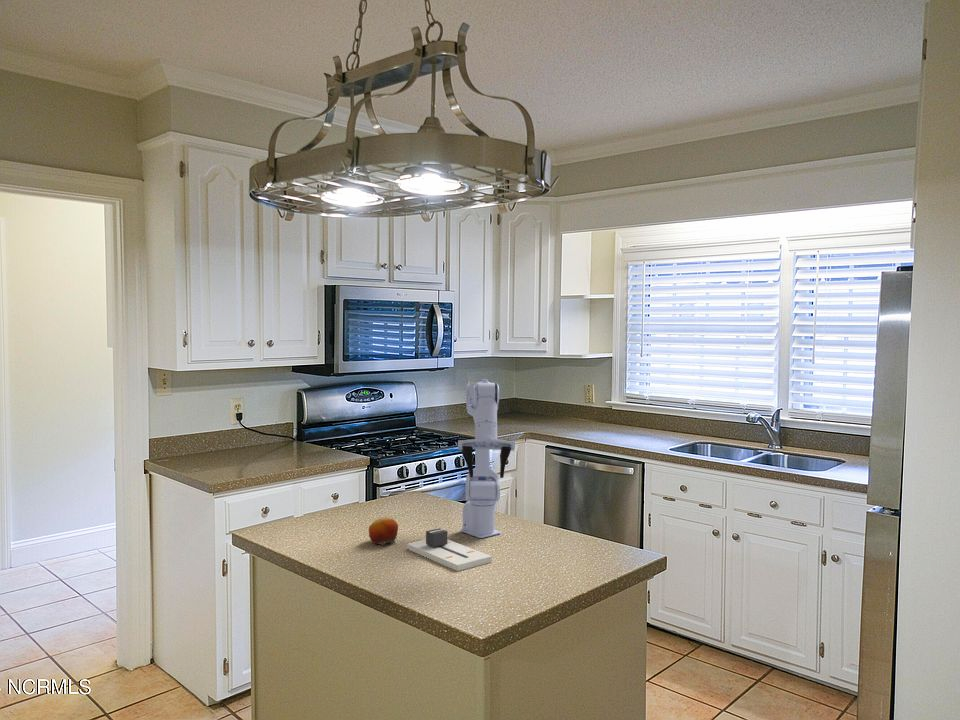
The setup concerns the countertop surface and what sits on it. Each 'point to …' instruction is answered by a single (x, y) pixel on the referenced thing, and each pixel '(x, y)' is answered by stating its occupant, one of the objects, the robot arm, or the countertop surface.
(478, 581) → the countertop surface
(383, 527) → the fruit
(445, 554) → the fader console
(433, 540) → the fader knob
